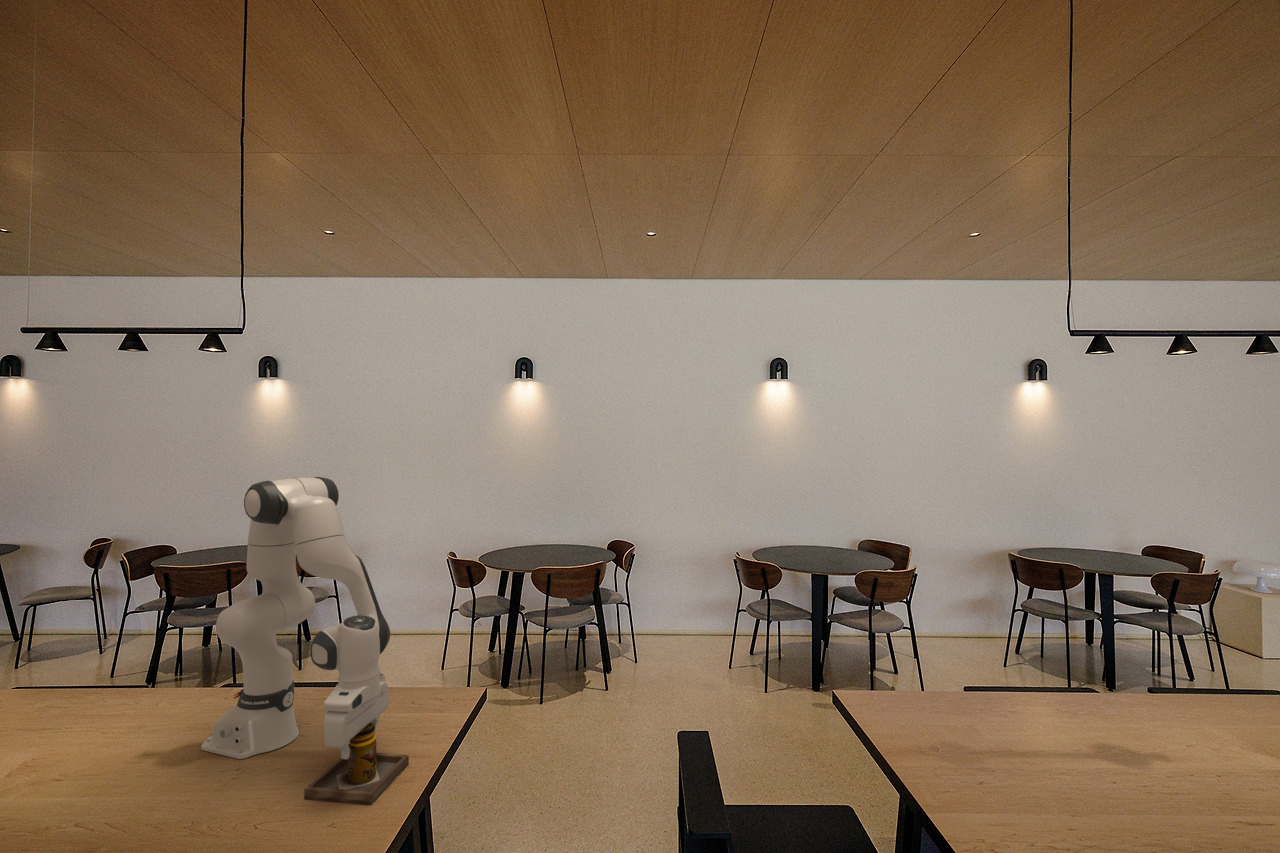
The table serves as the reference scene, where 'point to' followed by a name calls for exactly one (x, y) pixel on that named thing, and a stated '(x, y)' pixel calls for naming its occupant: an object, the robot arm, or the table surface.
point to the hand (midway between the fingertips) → (359, 746)
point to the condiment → (361, 760)
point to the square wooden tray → (366, 794)
